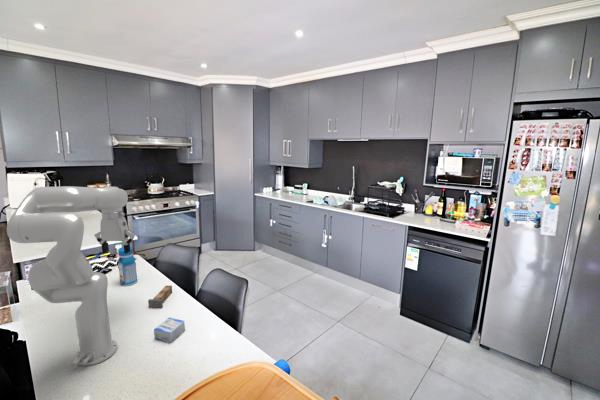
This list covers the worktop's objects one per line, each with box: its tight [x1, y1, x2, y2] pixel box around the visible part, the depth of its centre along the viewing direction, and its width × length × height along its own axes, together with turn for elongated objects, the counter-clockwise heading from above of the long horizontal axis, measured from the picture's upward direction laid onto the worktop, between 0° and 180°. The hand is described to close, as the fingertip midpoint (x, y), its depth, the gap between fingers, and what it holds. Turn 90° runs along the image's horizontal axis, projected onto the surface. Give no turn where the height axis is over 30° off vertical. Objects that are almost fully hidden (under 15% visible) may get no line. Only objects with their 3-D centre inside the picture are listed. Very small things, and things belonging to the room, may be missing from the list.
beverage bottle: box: [117, 246, 138, 287], centre depth 158 cm, size 8×8×20 cm
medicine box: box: [153, 317, 186, 344], centre depth 117 cm, size 8×4×9 cm
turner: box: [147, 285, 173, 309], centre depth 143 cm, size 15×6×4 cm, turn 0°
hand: (116, 252), depth 129 cm, fingers open, 9 cm apart
